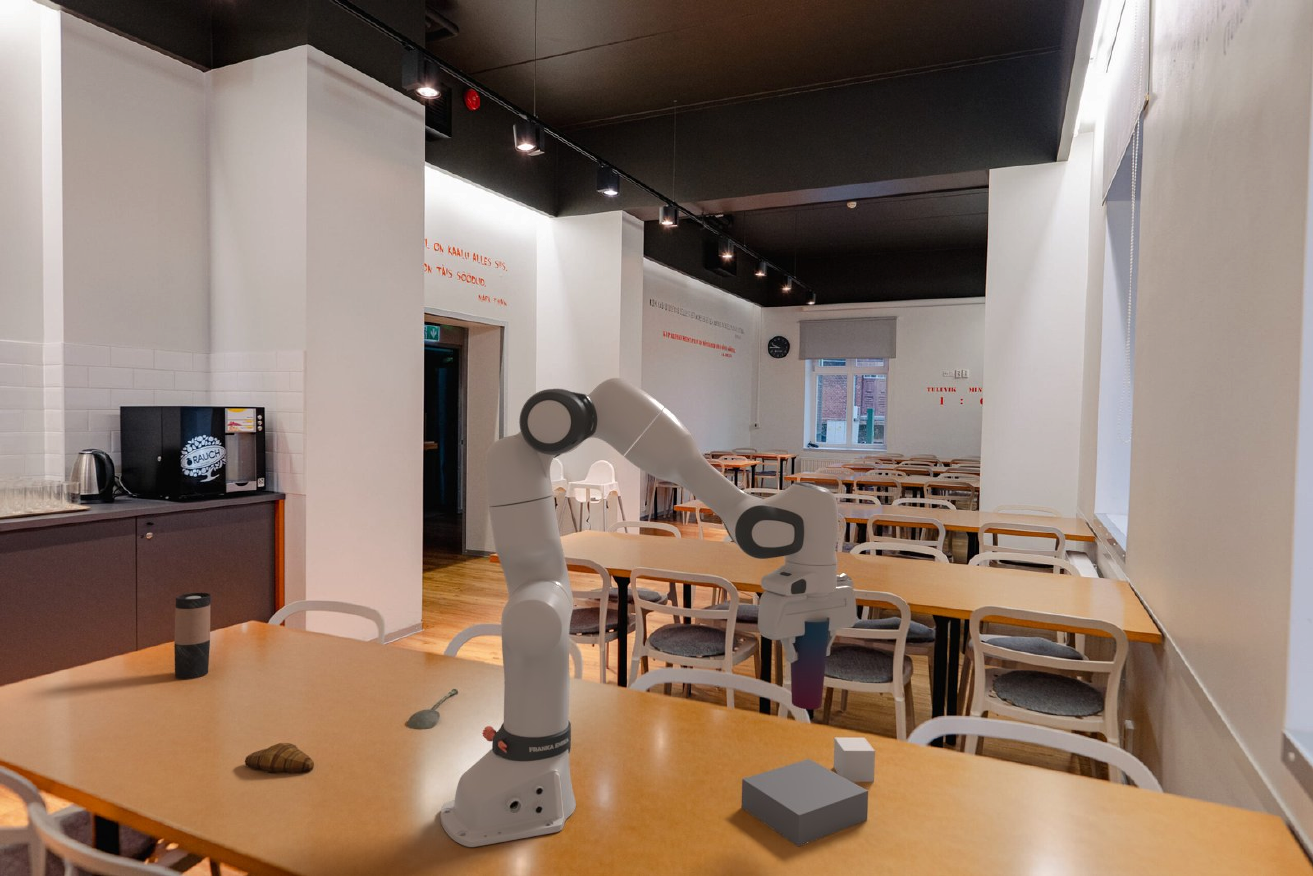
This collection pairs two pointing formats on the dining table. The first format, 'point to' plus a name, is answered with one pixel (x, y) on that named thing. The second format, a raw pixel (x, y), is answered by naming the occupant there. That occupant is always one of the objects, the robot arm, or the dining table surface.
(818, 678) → the cup
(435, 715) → the soupspoon
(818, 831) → the plinth
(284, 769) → the croissant
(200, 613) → the travel mug
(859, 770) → the white cube
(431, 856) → the dining table surface
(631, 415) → the robot arm
